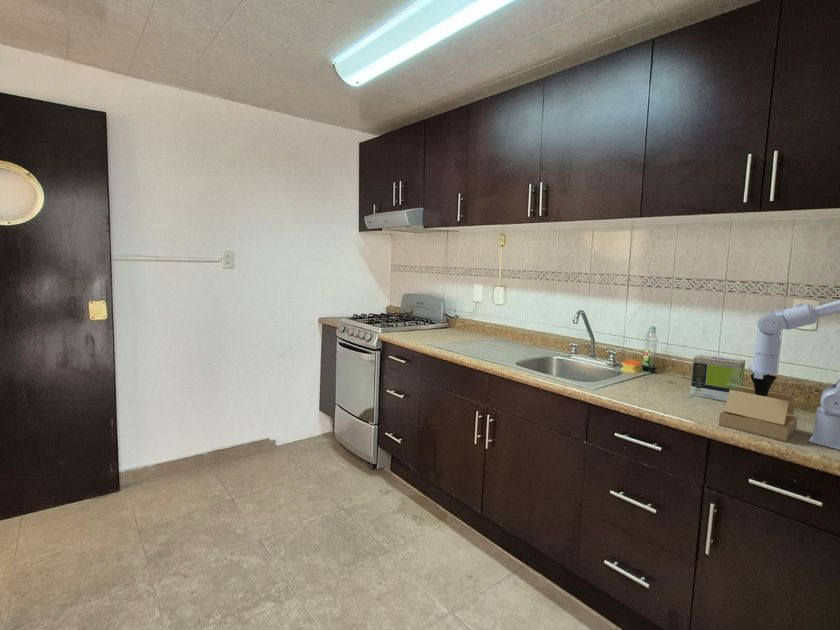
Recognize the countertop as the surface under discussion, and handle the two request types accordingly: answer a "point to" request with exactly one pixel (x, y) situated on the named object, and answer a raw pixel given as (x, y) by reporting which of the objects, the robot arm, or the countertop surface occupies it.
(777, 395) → the flap
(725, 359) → the tea box
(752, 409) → the flap
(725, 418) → the carton
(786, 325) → the robot arm
